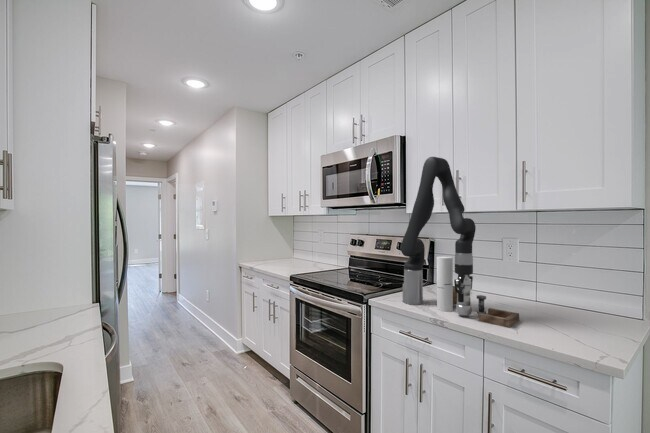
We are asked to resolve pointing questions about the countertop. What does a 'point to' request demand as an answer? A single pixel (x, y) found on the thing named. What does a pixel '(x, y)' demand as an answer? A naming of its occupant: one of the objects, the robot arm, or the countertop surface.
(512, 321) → the wooden tray
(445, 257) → the cylindrical container
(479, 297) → the bobbin post
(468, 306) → the plastic bottle
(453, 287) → the natural sponge
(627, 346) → the countertop surface
